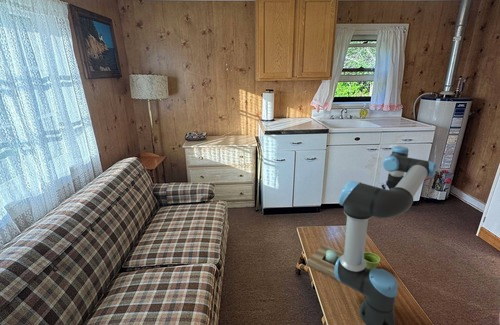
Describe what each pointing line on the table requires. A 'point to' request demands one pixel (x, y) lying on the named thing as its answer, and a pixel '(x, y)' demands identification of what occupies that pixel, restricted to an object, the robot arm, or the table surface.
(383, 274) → the robot arm
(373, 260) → the plant pot
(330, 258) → the pale mint egg
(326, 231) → the table surface
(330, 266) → the dock
